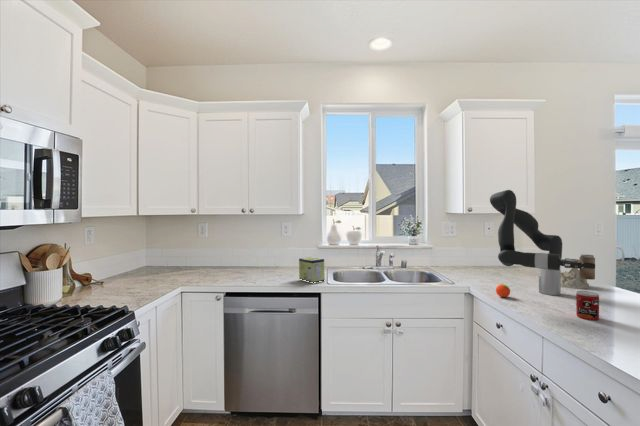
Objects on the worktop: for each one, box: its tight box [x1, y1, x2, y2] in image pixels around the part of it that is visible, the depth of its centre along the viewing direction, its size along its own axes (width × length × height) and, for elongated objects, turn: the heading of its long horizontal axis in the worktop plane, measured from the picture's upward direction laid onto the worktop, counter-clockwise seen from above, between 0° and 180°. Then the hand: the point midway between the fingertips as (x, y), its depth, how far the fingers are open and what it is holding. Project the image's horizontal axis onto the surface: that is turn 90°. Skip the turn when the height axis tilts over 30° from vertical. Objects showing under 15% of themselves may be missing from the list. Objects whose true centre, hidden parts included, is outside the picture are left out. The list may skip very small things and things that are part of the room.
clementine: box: [495, 283, 511, 298], centre depth 173 cm, size 8×7×7 cm
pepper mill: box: [579, 253, 596, 281], centre depth 140 cm, size 5×5×10 cm
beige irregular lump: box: [560, 268, 590, 290], centre depth 198 cm, size 16×16×15 cm
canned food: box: [575, 290, 600, 321], centre depth 140 cm, size 8×8×11 cm
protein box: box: [298, 256, 326, 283], centre depth 219 cm, size 10×16×16 cm
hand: (594, 265), depth 138 cm, fingers closed on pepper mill, 5 cm apart
